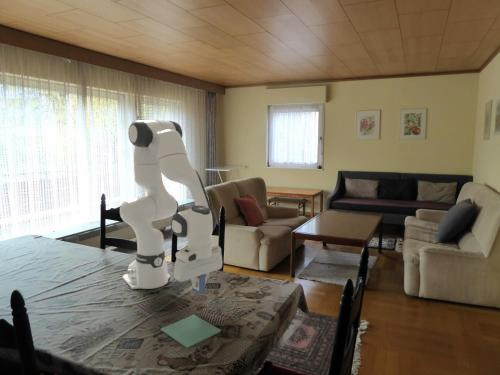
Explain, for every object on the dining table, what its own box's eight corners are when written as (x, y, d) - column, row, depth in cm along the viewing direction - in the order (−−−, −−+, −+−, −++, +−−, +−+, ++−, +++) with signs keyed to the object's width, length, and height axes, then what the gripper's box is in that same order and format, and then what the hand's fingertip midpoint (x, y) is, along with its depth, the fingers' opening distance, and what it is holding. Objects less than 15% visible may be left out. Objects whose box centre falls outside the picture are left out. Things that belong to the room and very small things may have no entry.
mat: (160, 329, 123) (160, 328, 122) (193, 315, 133) (193, 314, 133) (187, 348, 112) (187, 347, 112) (221, 331, 122) (221, 330, 122)
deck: (192, 290, 136) (193, 273, 135) (198, 288, 138) (198, 271, 137) (199, 294, 133) (200, 276, 132) (205, 292, 135) (205, 274, 134)
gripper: (215, 242, 143) (214, 275, 145) (171, 254, 128) (171, 290, 130) (226, 246, 138) (225, 280, 141) (182, 259, 124) (181, 297, 126)
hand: (199, 285), depth 135 cm, fingers closed on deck, 2 cm apart
